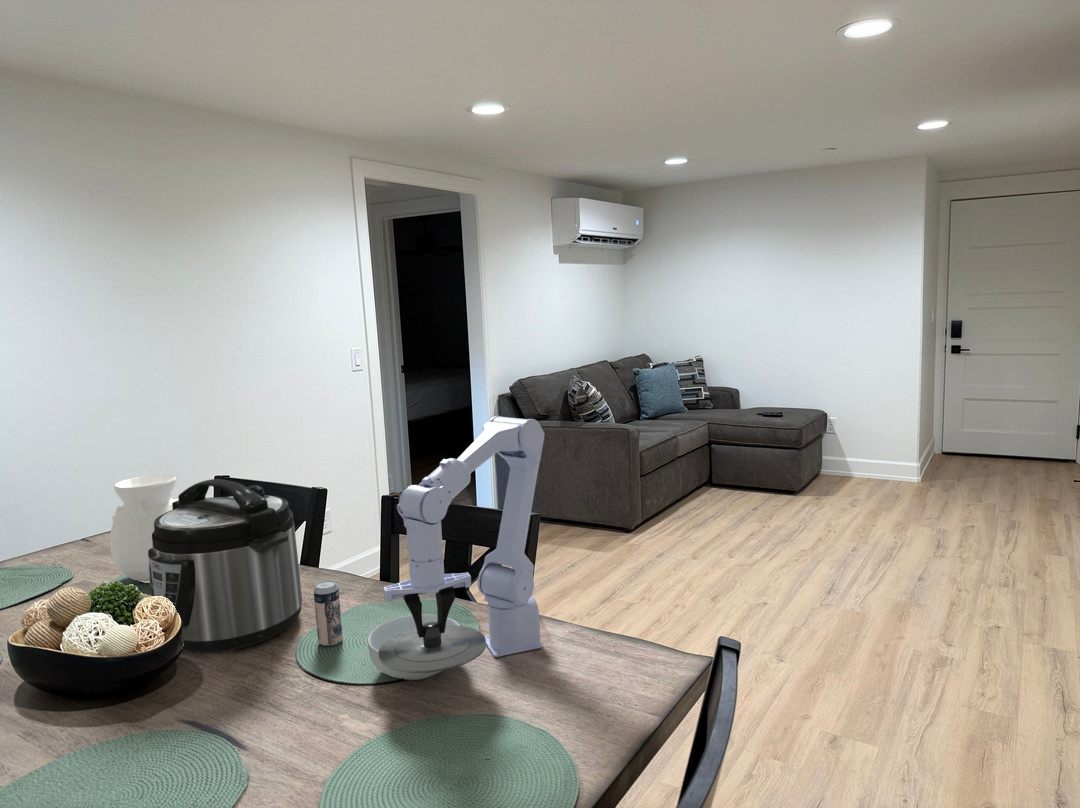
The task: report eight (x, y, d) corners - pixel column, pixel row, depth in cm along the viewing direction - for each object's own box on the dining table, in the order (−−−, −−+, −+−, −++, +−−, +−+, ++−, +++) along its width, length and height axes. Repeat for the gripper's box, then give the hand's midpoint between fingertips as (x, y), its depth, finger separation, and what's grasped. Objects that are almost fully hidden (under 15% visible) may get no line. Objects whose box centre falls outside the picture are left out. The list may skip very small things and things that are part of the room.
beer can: (336, 648, 145) (331, 589, 143) (313, 647, 146) (308, 588, 144) (347, 637, 149) (342, 580, 148) (325, 636, 150) (320, 579, 149)
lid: (470, 622, 138) (469, 599, 137) (499, 658, 121) (497, 633, 120) (372, 640, 132) (370, 617, 131) (387, 681, 115) (385, 655, 114)
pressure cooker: (163, 614, 164) (146, 474, 160) (297, 590, 175) (285, 458, 170) (151, 676, 137) (131, 508, 132) (311, 643, 147) (297, 487, 143)
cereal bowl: (421, 703, 124) (419, 663, 123) (350, 679, 133) (347, 642, 132) (482, 659, 138) (480, 623, 137) (414, 640, 147) (412, 606, 146)
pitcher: (134, 566, 195) (123, 474, 192) (207, 561, 197) (197, 469, 194) (101, 594, 177) (87, 492, 173) (181, 588, 179) (170, 487, 175)
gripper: (386, 571, 118) (392, 651, 120) (474, 556, 123) (478, 634, 125) (379, 557, 125) (385, 633, 127) (463, 544, 130) (467, 617, 132)
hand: (430, 632), depth 127 cm, fingers closed on lid, 3 cm apart
